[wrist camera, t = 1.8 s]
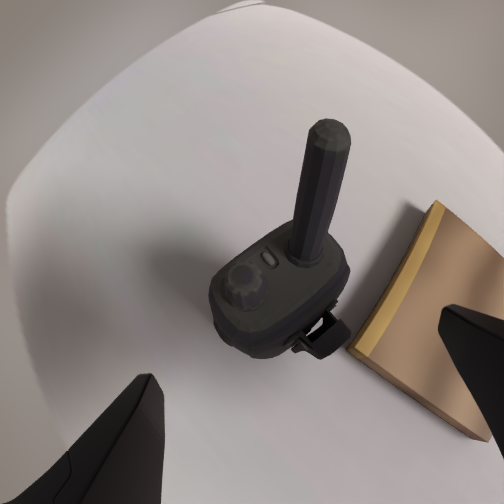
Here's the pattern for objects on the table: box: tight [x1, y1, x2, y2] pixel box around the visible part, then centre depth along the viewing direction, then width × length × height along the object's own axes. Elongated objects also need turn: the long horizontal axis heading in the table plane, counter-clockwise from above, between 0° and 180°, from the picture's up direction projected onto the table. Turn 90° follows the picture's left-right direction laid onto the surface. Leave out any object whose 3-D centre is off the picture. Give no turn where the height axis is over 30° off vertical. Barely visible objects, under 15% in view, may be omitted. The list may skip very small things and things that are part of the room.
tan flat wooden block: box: [346, 200, 504, 442], centre depth 15 cm, size 14×13×2 cm
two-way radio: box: [209, 119, 351, 360], centre depth 11 cm, size 6×4×15 cm
